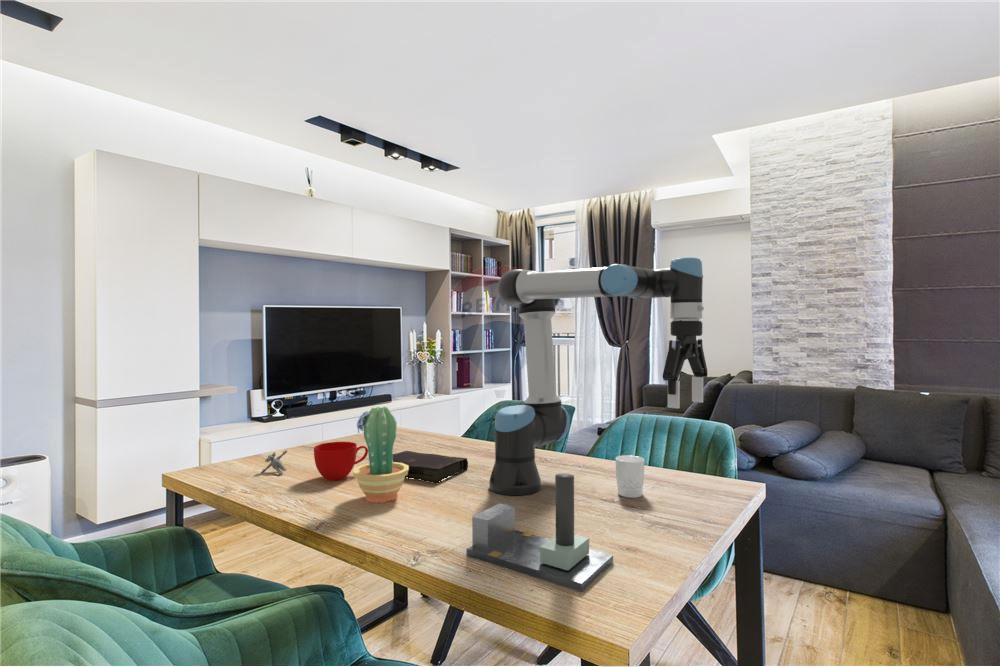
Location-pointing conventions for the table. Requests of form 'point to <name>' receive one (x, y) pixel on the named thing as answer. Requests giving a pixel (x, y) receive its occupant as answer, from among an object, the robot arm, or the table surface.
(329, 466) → the ceramic cup
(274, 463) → the grey figurine
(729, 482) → the table surface
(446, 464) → the diary
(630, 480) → the white cup
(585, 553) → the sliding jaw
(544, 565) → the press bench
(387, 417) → the potted cactus
